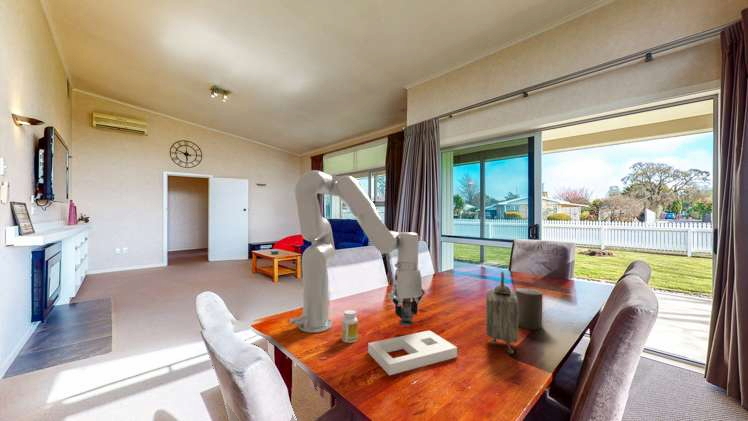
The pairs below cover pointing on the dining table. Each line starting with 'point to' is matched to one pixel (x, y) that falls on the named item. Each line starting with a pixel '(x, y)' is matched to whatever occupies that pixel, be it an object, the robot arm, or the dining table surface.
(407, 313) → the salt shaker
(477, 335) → the dining table surface
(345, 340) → the supplement bottle
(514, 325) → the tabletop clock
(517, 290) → the pillar candle
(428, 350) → the socket board
